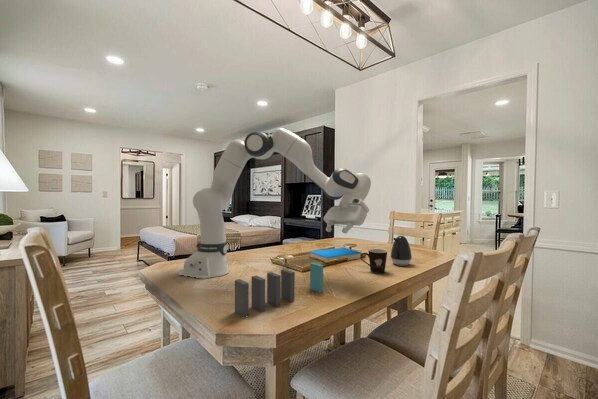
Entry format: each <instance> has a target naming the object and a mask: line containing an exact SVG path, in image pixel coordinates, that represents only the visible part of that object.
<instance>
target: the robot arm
mask: <svg viewBox="0 0 598 399" xmlns="http://www.w3.org/2000/svg"><path fill="white" fill-rule="evenodd" d="M224 149H225V150H224V151H223V152H222V154H221V155H220V156H221V157H220V158H219V161H218V163H217V164H216V167H215V169H214V170H213V174H212V175H213V177H212V182H211V185H210V187H209V188H208V187H206V188H203V189H200V190H198V191H197V192H195V194H194V195H193V198H192V205H193V206H194V209H196V212H197V216H198V220H199V226H200V242H199V243H197V244H195V245H194V246H195V247H194V248H197V249H196V251H194V253H192V254H191V255H189V257H187V258H186V259H185V261H184V263H183V267H182V269H180V270H178V272H177V275H178V274H179V275H178V276H180V275H184V276H183V277H187V276H190V277H189V278H194V277H196V279H203V280H204V279H209V278H215V277H221V276H224V275H227V274H229V272H230V269H229V264H228V259H227V258H228V257H227V251H228V243H227V239H226V238H227V234H226V233H227V231H226V229H227V227H226V226H227V225H226V223H225V221H224V220H225V219H224V216H223V212H224V210H226V209H227V208H228V207H229V206H230V205H231V202H232V197H233V195H234V190H235V188H236V184H237V183H238V179H239V178H240V176H241V174H242V172H243V170H244V168H245V166H246V164H247V162H248V161H249V160H250V159H252V160H258V161H268V160H270V159H271V158H272V157H273V155H274V154H275V153H278V154H280V155H282V156H283V157H284V158H285V159H287V160H288V161H290V162H291V163H292V164H294V166H296V167H297V169H298V170H299V171H300V172H301V173H302V174H303V175H304V176H306V178H308V179H309V180H310V181H311V182H312V183H314V184H315V185H316V186H317V187H319V188H320V190H321V191H322V192H323V194H324V195H325V196H326V198H328V199H329V200H332V201H337V200H340V201H339V203H338V205H334V206H332V207H330V208H329V209H328V210H327V212H326V213H325V215H324V216H323V221H324V222H325V223H326V224H327V225H326V228H325V231H326V232H327V233H331V231H332V230H333V228H332V227H333V225H341V226H342V225H343V226H344V227H343V228H342V229H341V232H342V233H343V234H348V232H349V231H350V230H351V229H352V228H353V227H354V226H356V227H357V226H359V227H360V226H362V225H363V224H364V223H365V220H366V218H367V216H368V213H369V212H370V208H369V207H368V205H367V204H366V203H365V201H364V200H365V199H367V196H368V194H369V192H370V190H371V186H372V181H371V178H370V177H369V175H367V174H365V173H363V172H358V173H357V172H352V171H350V170H348V169H347V168H343V167H339V168H337V169H335V170H334V171H333V172H332V173H331V176H330V177H329V176H327V175H326V174H325V173H324V172H322V171H321V170H320V169H319V168H318V167H317V166H316V165H315V163H314V158H313V151H312V147H311V145H310V144H309V143H308V142H307V141H306V140H305V139H303V138H302V137H300V136H299V135H298V134H296V133H294V132H292V131H291V130H288V129H286V128H283V127H278V128H276V129H275V130H274V131H273V132H272V133H271V134H270V133H269V132H263V131H262V132H261V131H252V132H250V133H249V134H247V135H246V137H245V138H244V140H242V139H238V138H237V139H233V140H231V141H230V143H229V144H227V146H226V147H225V148H224Z"/></svg>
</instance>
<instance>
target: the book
mask: <svg viewBox="0 0 598 399" xmlns="http://www.w3.org/2000/svg"><path fill="white" fill-rule="evenodd" d="M362 253H363V252H362V251H358V250H354V249H350V248H347V247H336V248H327V249H319V250H311V251H309V255H310V256H313V257H315V258H318V259H321V260H325V261H330V260H334V259H341V258H348V260H347V261H352V260H360V259H361V258H360V256H361V254H362ZM310 256H309V257H310ZM361 257H362V256H361Z"/></svg>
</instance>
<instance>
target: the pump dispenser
mask: <svg viewBox="0 0 598 399" xmlns="http://www.w3.org/2000/svg"><path fill="white" fill-rule="evenodd" d="M392 240H393V243H392V247H391V250H390V259H391V260H392V263H393V264H395V265H396V266H401V267H406V266H408V265H409V264H410V263H411V261H412V259H413V258H412V250H411V246H410V243H409V241H408V239H407V237H405V236H404V235H398V236H397V237H393V238H392Z"/></svg>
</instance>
